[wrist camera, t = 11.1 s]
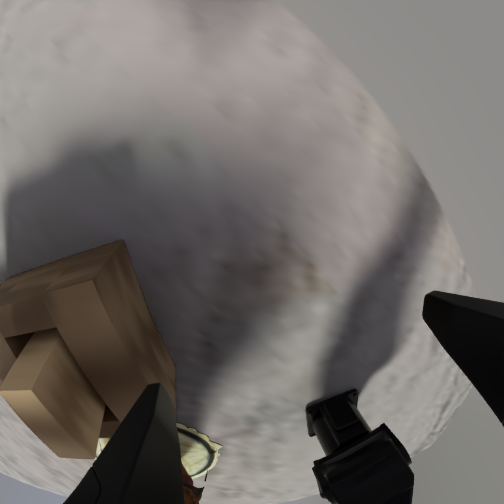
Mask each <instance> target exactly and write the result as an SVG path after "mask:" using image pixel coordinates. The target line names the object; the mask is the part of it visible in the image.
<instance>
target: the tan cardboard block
mask: <svg viewBox="0 0 504 504" xmlns="http://www.w3.org/2000/svg"><path fill="white" fill-rule="evenodd" d="M0 394H1V396H2V397H3V398H4V399H5V401H6V402H7V403H8V404H9V406H10V407H11V408H12V409H13V410H14V412H15V413H16V414H17V415H18V416H19V417H20V419H21V420H22V421H23V422H24V423H25V424H26V425H27V426H28V427H29V428H30V429H31V430H32V431H33V433H34V434H35V435H36V436H37V437H38V438H39V439H40V440H41V441H42V442H43V443H44V444H46V445H47V446H48V447H49V448H50V449H51V450H52V451H53V452H54V453H55V454H56V455H57V456H58V457H62V458H76V459H95V457H96V451H97V445H98V440H99V435H100V429H101V424H102V420H103V415H104V410H105V406H106V403H105V402H104V401H103V399H102V398H101V397H100V395H99V394H98V393H97V391H96V390H95V388H94V387H93V386H92V384H91V383H90V381H89V380H88V378H87V377H86V375H85V374H84V372H83V371H82V369H81V368H80V366H79V365H78V363H77V361H76V360H75V358H74V357H73V355H72V353H71V352H70V350H69V348H68V347H67V345H66V343H65V341H64V340H63V338H62V336H61V334H60V333H59V331H58V329H57V327H55V328H50V329H46V330H41V331H36V332H35V333H34V334H33V336H32V337H31V338H30V340H29V341H28V343H27V344H26V346H25V347H24V349H23V350H22V352H21V353H20V355H19V356H18V358H17V360H16V361H15V363H14V364H13V366H12V367H11V369H10V371H9V372H8V374H7V376H6V377H5V379H4V381H3V382H2V384H1V386H0Z"/></svg>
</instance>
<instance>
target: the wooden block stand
mask: <svg viewBox="0 0 504 504" xmlns="http://www.w3.org/2000/svg"><path fill="white" fill-rule="evenodd" d="M55 327H57V329H58V331H59V333H60V334H61V336H62V338H63V340H64V341H65V343H66V345H67V347H68V348H69V350H70V352H71V353H72V355H73V357H74V358H75V360H76V361H77V363H78V365H79V366H80V368H81V369H82V371H83V372H84V374H85V375H86V377H87V378H88V380H89V381H90V383H91V384H92V386H93V387H94V388H95V390H96V391H97V393H98V394H99V395H100V397H101V398H102V399H103V401H104V402H105V403H106V406H105V410H104V415H103V420H102V424H101V429H100V435H99V438H111V437H112V435H113V434H114V432H115V431H116V429H117V428H118V426H119V425H120V424H121V422H122V421H123V419H124V418H125V416H126V415H127V413H128V412H129V411H130V409H131V408H132V406H133V405H134V403H135V402H136V400H137V399H138V398H139V396H140V395H141V393H142V392H143V390H144V389H145V387H146V386H147V385H148V384H152V383H158V382H159V383H161V384H162V385H163V386H164V388H165V390H166V391H167V393H168V395H169V396H170V398H171V400H172V402H173V406H174V412H175V419H176V367H175V365H174V363H173V361H172V359H171V357H170V355H169V353H168V351H167V349H166V347H165V345H164V342H163V340H162V338H161V336H160V334H159V331H158V329H157V327H156V325H155V322H154V320H153V318H152V315H151V313H150V310H149V308H148V306H147V303H146V301H145V298H144V296H143V293H142V291H141V288H140V285H139V283H138V280H137V277H136V275H135V272H134V269H133V266H132V264H131V261H130V258H129V255H128V252H127V249H126V246H125V243H124V240H120V241H116V242H113V243H110V244H107V245H103V246H100V247H97V248H94V249H91V250H88V251H84V252H81V253H78V254H75V255H72V256H69V257H66V258H63V259H60V260H57V261H54V262H51V263H48V264H46V265H43V266H40V267H37V268H34V269H31V270H28V271H26V272H23V273H20V274H17V275H15V276H12V277H9V278H8V279H7V280H5V281H4V282H3V283H2V284H1V285H0V386H1V384H2V382H3V381H4V379H5V377H6V376H7V374H8V372H9V371H10V369H11V367H12V366H13V364H14V363H15V361H16V360H17V358H18V356H19V355H20V353H21V352H22V350H23V349H24V347H25V346H26V344H27V343H28V341H29V340H30V338H31V337H32V336H33V334H34V333H35V332H36V331H41V330H46V329H50V328H55Z"/></svg>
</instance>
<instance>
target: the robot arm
mask: <svg viewBox="0 0 504 504" xmlns="http://www.w3.org/2000/svg"><path fill="white" fill-rule="evenodd" d="M422 316H423V319H424V321H425V322H426V324H427V325H428V326H429V328H430V329H431V331H432V332H433V334H434V335H435V336H436V338H437V339H438V341H439V342H440V344H441V345H442V346H443V348H444V349H445V350H446V352H447V353H448V354H449V355H450V357H451V358H452V359H453V360H454V361H455V363H456V364H457V365H458V366H459V368H460V369H461V370H462V371H463V373H464V374H465V375H466V376H467V378H468V379H469V380H470V381H471V383H472V384H473V385H474V386H475V388H476V389H477V390H478V392H479V393H480V394H481V395H482V397H483V398H484V400H485V401H486V402H487V404H488V405H489V406H490V408H491V409H492V410H493V412H494V413H495V415H496V416H497V418H498V419H499V421H500V422H501V423H502V425H503V427H504V303H502V302H497V301H491V300H485V299H480V298H474V297H468V296H463V295H457V294H451V293H446V292H440V291H432V292H430V293H428V294H426V295H425V297H424V304H423V312H422ZM357 403H358V391H357V389H353V390H351V391H349V392H346V393H344V394H342V395H339V396H337V397H334V398H332V399H329V400H327V401H324V402H322V403H319V404H316V405H314V406H311V407H308V408H307V409H306V419H307V427H308V434H309V436H310V437H313V436H317V438H318V440H319V442H320V444H321V446H322V448H323V450H324V452H325V454H326V456H325V457H323V458H321V459H319V460H315V461H313V462H314V465H315V466H314V467H313V468H312V470H313V472H314V474H315V477H316V479H317V483H318V488H319V492H320V495H321V497H322V498H325V499H328V501H329V502H331V503H332V504H412V496H413V485H414V474H413V472H412V470H411V469H410V467H409V466H408V465H410V464H411V463H412V461H411V458H410V456H409V454H408V452H407V451H406V449H405V447H404V446H403V445H402V443H401V442H400V441H399V440H398V439H397V437H396V436H395V435H394V434H393V433H392V432H391V430H390V429H389V428H388V427H387V426H386V425H385V423H383V424H381V425H380V426H379V427H378V428H376V429H375V430H373V431H372V430H371V429H370V427H369V426H368V424H367V423H366V421H365V420H364V418H363V417H362V415H361V414H360V412H359V411H358V409H357ZM92 466H93V467H90V469H89V470H88V472H87V473H86V475H85V476H84V478H83V479H82V480H81V482H80V483H79V485H78V486H77V487H76V489H75V490H74V491H73V492H72V493H71V495H70V496H69V497H68V498H67V500H66V501H65V502H64V503H63V504H185V498H184V488H183V476H182V462H181V449H180V442H179V436H178V431H177V425H176V419H175V412H174V406H173V402H172V400H171V398H170V396H169V395H168V393H167V391H166V390H165V388H164V386H163V385H162V384H161V383H159V382H158V383H152V384H148V385H147V386H146V387H145V389H144V390H143V392H142V393H141V395H140V396H139V398H138V399H137V400H136V402H135V403H134V405H133V406H132V408H131V409H130V411H129V412H128V413H127V415H126V416H125V418H124V419H123V421H122V422H121V424H120V425H119V426H118V428H117V429H116V431H115V432H114V434H113V435H112V437H111V438H110V440H109V441H108V443H107V444H106V445H105V447H104V448H103V450H102V451H101V453H100V454H99V456H98V457H97V459H96V460H95V462H94V463H93V465H92Z"/></svg>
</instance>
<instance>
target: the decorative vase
mask: <svg viewBox="0 0 504 504" xmlns="http://www.w3.org/2000/svg"><path fill="white" fill-rule="evenodd" d="M176 425H177V431H178V436H179V442H180V449H181V462H182V476H183V488H184V498H185V504H199V501H200V499H201V496H202V492H203V489H204V487H203V488H197V487H194V486H193V481H192V478H197V477H199V476H202V475H205V474H206V473H208V471H209V470H210V469H211V468H213V467H214V466H215V464H216V462H217V460H218V459H217V457H218V456H219V455H221V454H219V453H218V449H219V448H221V447H223V446H220V445H218V444H215V443H213V442H210V441H209V438H208V437H207V436H206V435H203V434H200V433H197V431H196V430H195V429H193V428H187V427H186V426H185V425H183V424H179V423H176ZM109 440H110V438H99V440H98V445H97V451H96V457H95V459H94V460H96V459H97V457H98V456H99V454H100V453H101V451H102V450H103V448H104V447H105V445H106V444H107V443H108V441H109ZM206 478H207V474H206V477H205V481H206Z"/></svg>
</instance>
